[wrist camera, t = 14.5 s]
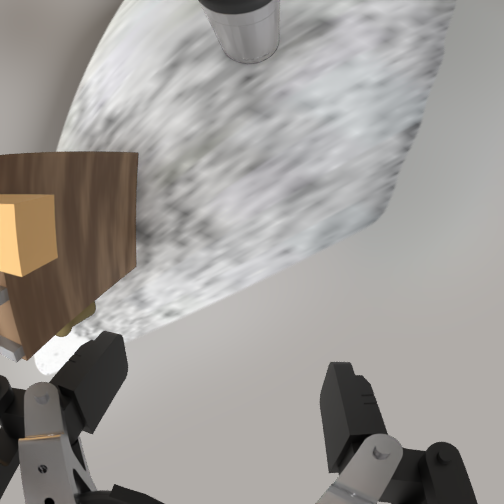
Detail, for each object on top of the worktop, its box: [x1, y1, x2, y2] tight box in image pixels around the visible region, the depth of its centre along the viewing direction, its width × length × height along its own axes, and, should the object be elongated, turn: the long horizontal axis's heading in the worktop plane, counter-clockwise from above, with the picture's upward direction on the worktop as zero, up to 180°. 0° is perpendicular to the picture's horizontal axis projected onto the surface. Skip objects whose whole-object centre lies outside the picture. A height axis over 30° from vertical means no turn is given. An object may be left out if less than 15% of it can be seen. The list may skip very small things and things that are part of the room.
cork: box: [56, 302, 96, 337], centre depth 49 cm, size 6×6×11 cm
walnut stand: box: [0, 152, 138, 362], centre depth 33 cm, size 12×20×32 cm, turn 174°
